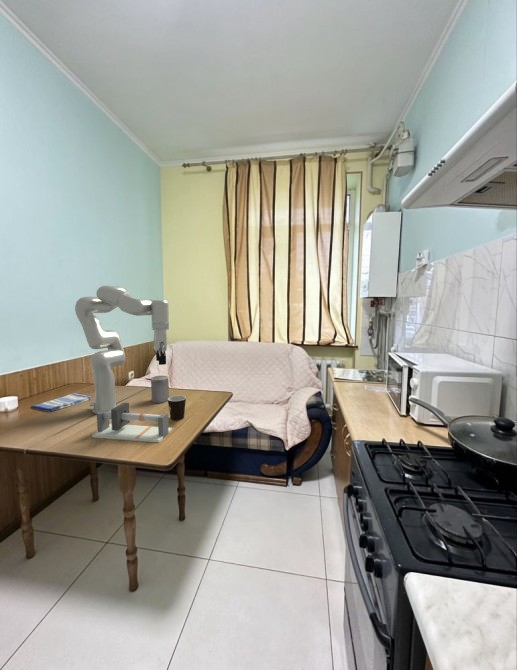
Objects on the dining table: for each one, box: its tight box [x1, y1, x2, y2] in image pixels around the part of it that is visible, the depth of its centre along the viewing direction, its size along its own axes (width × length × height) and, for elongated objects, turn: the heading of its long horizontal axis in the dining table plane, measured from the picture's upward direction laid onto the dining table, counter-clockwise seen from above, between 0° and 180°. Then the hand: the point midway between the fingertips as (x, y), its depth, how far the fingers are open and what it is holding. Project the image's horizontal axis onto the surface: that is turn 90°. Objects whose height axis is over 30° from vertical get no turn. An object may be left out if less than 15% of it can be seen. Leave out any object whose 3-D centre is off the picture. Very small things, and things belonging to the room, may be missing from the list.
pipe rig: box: [91, 410, 173, 443], centre depth 126 cm, size 30×12×9 cm, turn 82°
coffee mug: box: [167, 395, 187, 422], centre depth 142 cm, size 12×9×10 cm
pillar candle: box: [150, 375, 170, 404], centre depth 170 cm, size 10×10×15 cm
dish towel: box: [30, 392, 92, 413], centre depth 165 cm, size 17×24×3 cm
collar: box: [110, 402, 131, 431], centre depth 127 cm, size 2×9×9 cm, turn 172°
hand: (161, 362), depth 139 cm, fingers open, 9 cm apart
